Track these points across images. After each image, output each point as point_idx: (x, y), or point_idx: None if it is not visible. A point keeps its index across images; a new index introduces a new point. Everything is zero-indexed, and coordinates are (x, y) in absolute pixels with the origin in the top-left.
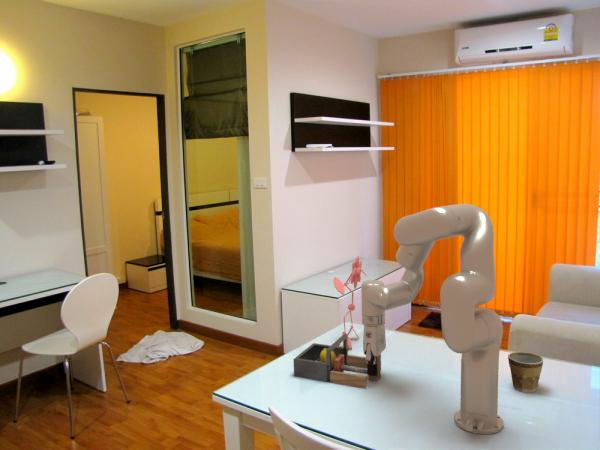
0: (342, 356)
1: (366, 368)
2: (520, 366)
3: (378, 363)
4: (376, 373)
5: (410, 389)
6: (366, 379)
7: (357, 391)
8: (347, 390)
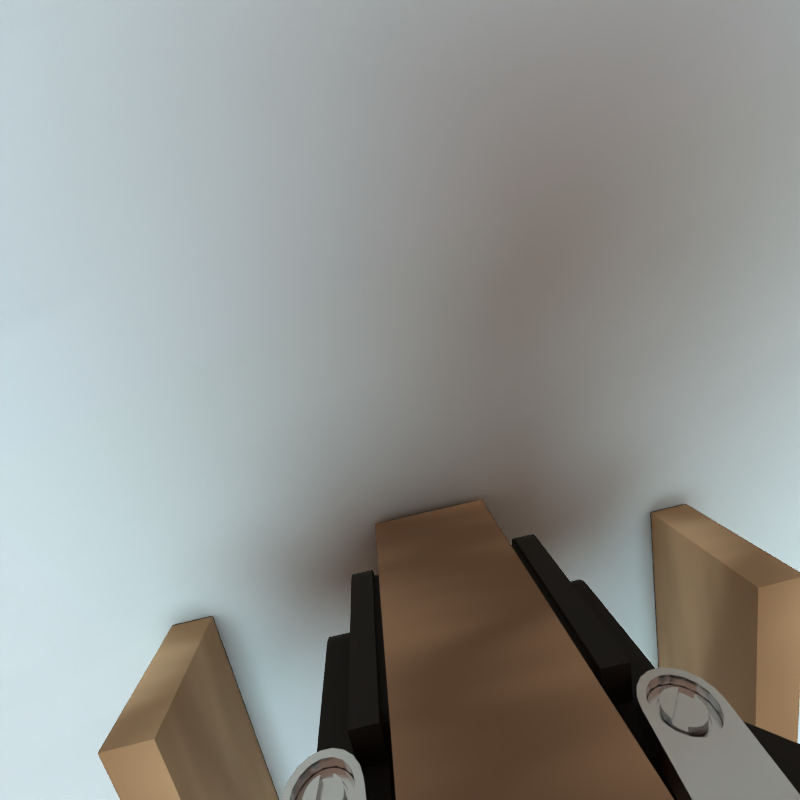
0: None
1: (255, 736)
2: None
3: (528, 663)
4: (546, 551)
5: (484, 60)
6: (731, 560)
7: (765, 530)
8: None
